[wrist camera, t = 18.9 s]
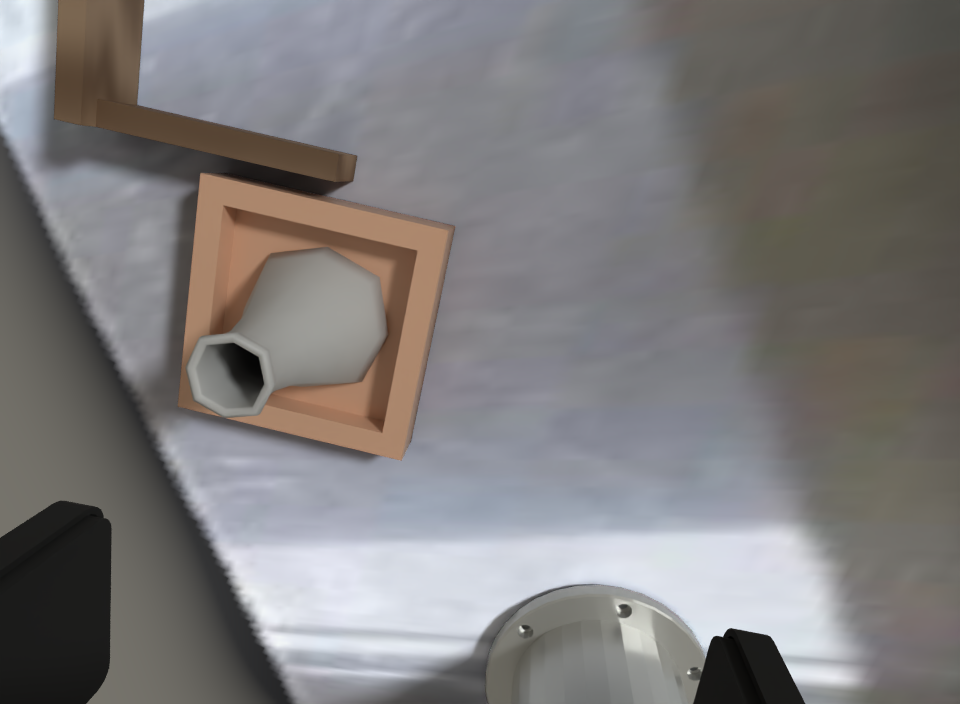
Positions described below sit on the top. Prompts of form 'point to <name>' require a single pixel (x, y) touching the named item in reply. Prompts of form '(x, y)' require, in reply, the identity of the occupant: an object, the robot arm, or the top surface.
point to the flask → (292, 333)
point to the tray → (362, 239)
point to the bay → (113, 105)
